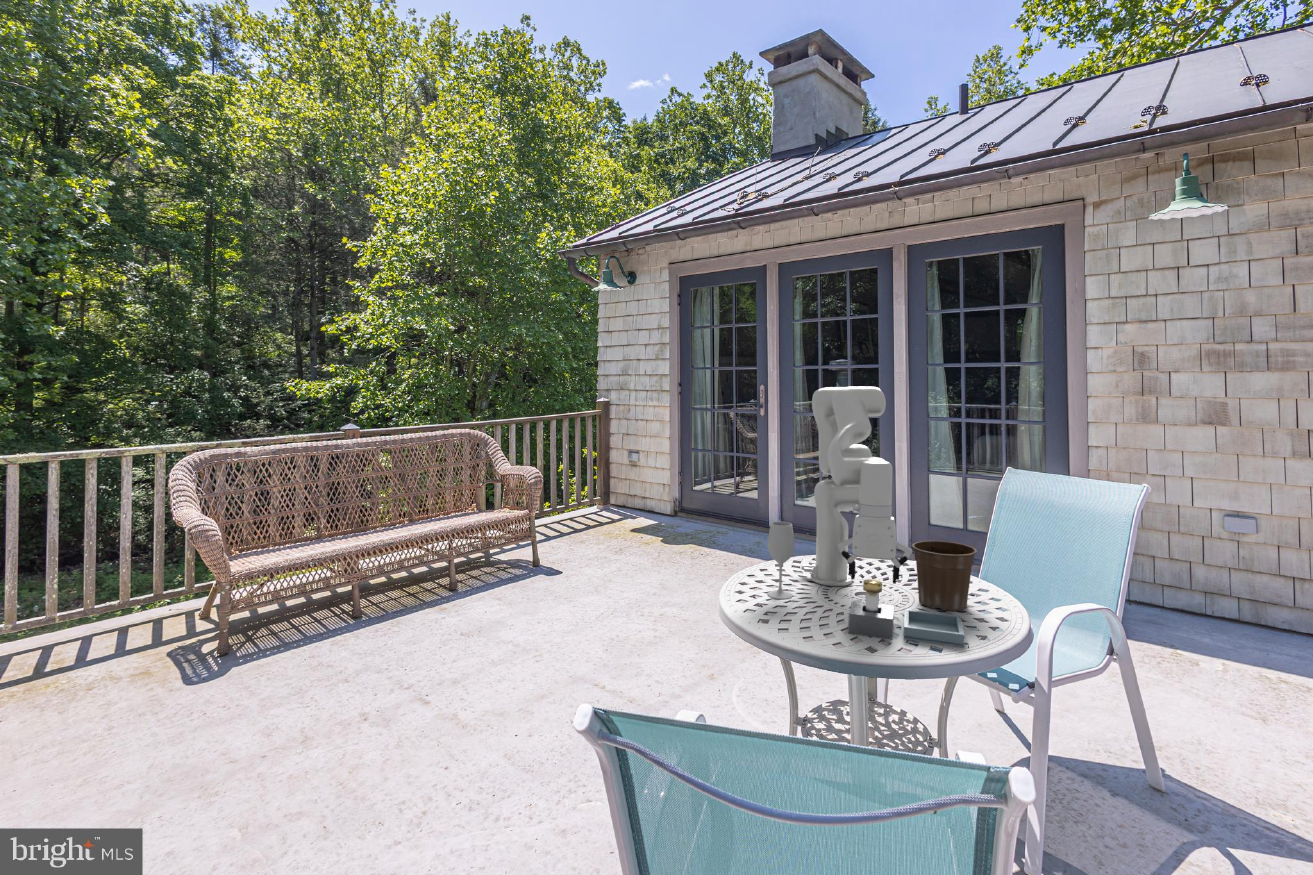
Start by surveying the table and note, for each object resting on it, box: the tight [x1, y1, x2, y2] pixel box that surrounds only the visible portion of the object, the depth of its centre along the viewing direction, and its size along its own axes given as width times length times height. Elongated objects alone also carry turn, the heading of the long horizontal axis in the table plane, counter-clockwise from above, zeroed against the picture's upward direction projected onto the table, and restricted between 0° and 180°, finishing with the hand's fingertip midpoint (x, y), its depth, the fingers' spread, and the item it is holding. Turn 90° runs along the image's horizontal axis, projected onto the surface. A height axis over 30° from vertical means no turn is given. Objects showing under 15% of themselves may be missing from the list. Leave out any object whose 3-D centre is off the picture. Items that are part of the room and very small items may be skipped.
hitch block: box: [848, 600, 895, 641], centre depth 155 cm, size 10×10×5 cm
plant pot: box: [911, 540, 978, 612], centre depth 173 cm, size 16×16×16 cm
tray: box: [903, 608, 965, 648], centre depth 153 cm, size 13×13×3 cm
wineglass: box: [767, 520, 796, 600], centre depth 180 cm, size 8×8×21 cm
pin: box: [862, 578, 883, 613], centre depth 155 cm, size 4×4×12 cm
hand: (873, 580), depth 154 cm, fingers open, 9 cm apart
